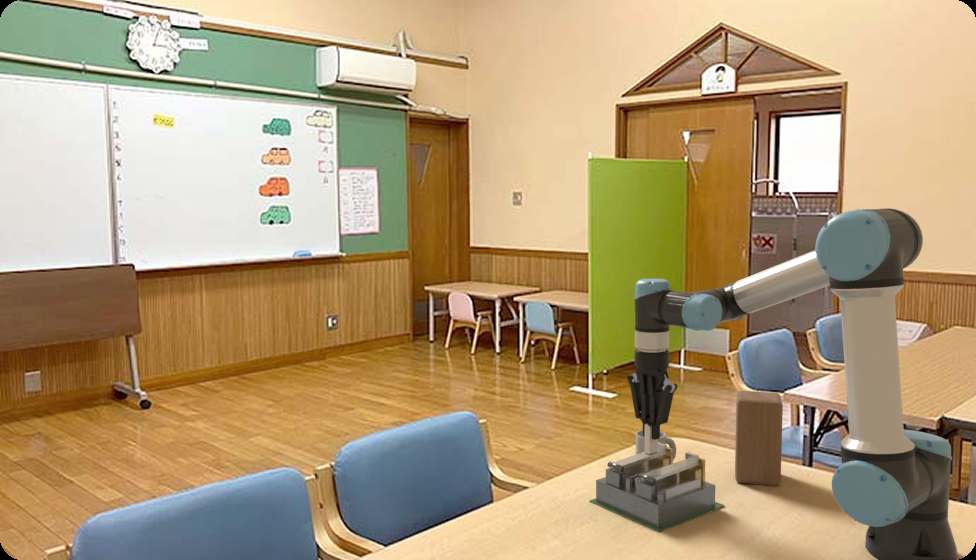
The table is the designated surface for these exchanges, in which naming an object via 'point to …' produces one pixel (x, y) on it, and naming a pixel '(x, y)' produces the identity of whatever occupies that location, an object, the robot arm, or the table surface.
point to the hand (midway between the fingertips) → (651, 451)
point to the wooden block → (758, 438)
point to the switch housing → (657, 494)
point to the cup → (662, 439)
